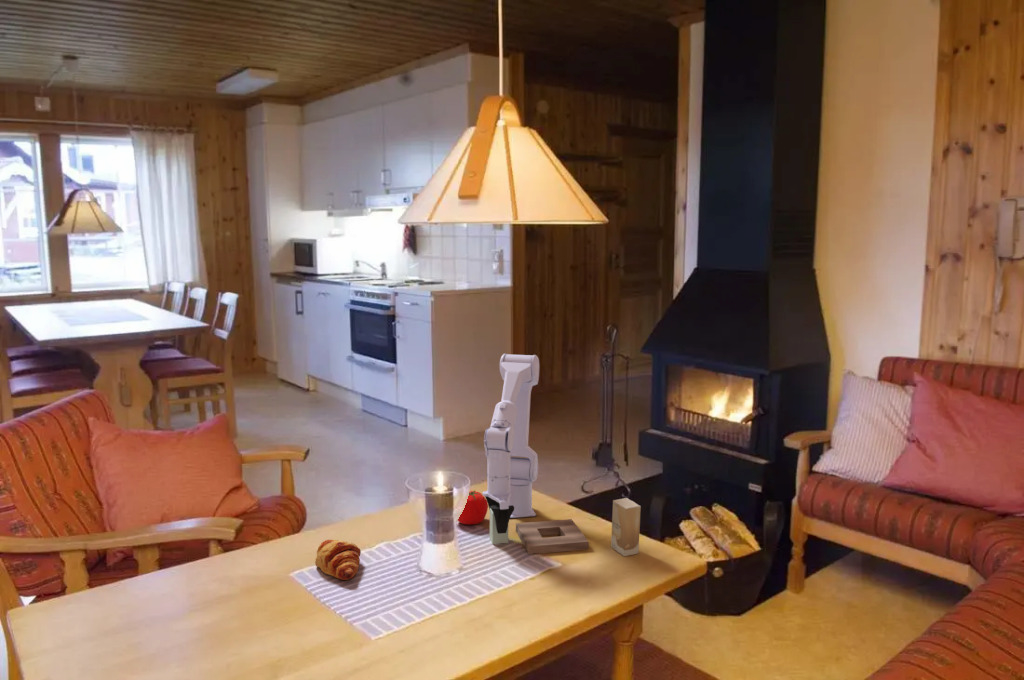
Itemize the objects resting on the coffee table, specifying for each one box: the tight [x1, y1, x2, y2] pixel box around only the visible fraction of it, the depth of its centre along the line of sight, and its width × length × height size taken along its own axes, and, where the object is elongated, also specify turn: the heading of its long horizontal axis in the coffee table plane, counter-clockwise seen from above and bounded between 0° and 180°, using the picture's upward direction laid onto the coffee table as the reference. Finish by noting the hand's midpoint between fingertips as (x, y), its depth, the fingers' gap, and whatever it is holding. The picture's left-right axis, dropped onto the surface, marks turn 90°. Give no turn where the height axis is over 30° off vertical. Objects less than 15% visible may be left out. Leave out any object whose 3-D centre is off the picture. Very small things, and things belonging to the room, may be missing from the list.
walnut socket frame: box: [515, 518, 590, 555], centre depth 197 cm, size 15×15×2 cm
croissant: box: [314, 539, 362, 581], centre depth 182 cm, size 21×10×8 cm, turn 28°
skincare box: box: [610, 497, 642, 557], centre depth 190 cm, size 6×4×12 cm
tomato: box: [457, 490, 489, 526], centre depth 209 cm, size 9×10×8 cm
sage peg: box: [489, 508, 509, 545], centre depth 196 cm, size 4×4×8 cm
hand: (498, 527), depth 196 cm, fingers open, 7 cm apart
